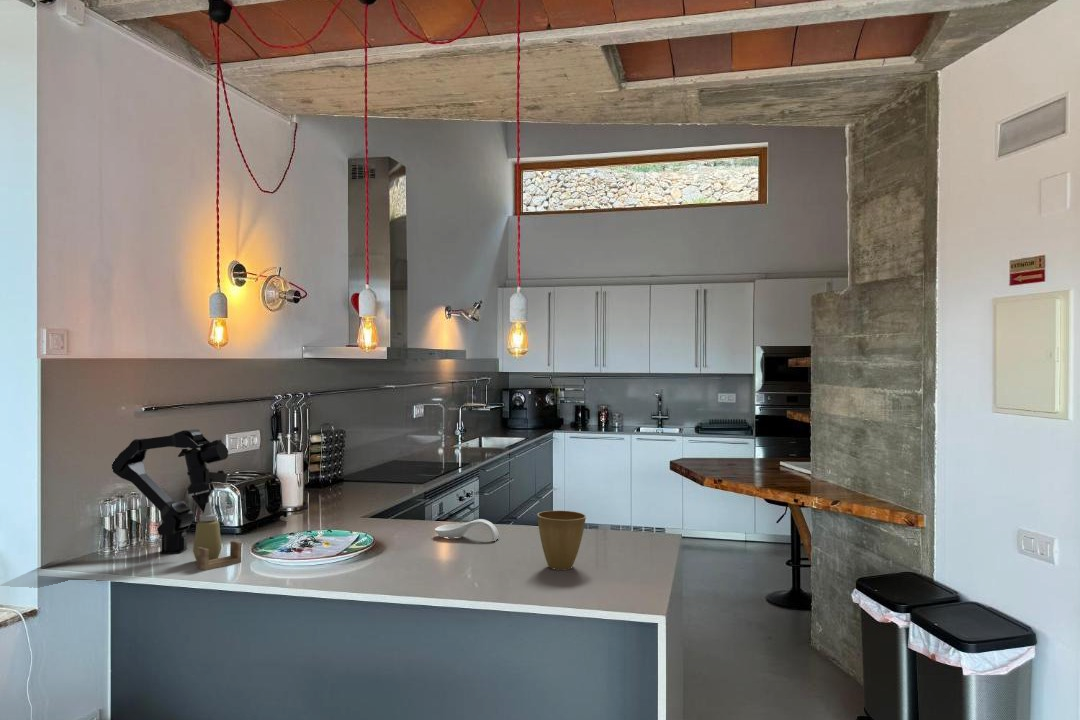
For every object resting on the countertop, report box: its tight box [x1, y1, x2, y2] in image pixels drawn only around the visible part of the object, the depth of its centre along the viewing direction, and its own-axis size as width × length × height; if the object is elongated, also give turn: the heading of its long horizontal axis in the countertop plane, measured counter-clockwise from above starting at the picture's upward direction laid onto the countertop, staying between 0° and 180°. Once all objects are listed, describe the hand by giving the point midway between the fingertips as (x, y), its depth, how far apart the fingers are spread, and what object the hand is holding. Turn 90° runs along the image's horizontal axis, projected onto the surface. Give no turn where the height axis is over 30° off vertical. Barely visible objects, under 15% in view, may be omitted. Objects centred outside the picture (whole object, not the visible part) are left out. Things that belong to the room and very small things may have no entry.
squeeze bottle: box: [192, 502, 222, 562], centre depth 221 cm, size 8×8×18 cm
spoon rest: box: [434, 518, 500, 541], centre depth 256 cm, size 24×12×7 cm, turn 74°
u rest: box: [196, 540, 243, 571], centre depth 217 cm, size 4×12×6 cm, turn 144°
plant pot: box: [536, 510, 587, 570], centre depth 218 cm, size 15×15×16 cm
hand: (206, 514), depth 230 cm, fingers closed
